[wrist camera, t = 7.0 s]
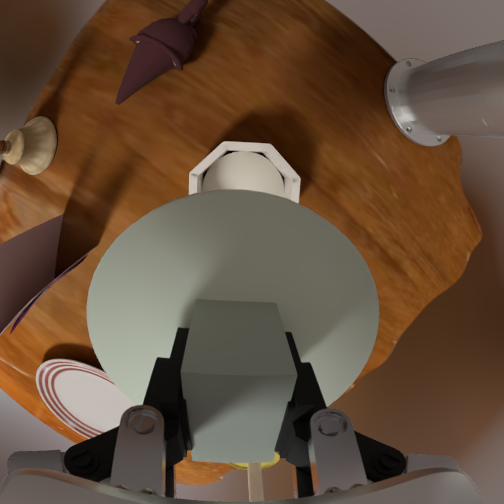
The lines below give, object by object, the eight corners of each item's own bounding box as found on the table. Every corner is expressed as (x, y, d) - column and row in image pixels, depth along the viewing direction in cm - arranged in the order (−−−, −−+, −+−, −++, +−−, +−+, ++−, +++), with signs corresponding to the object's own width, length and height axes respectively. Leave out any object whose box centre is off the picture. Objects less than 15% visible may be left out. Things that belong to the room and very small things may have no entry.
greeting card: (57, 288, 34) (1, 344, 20) (30, 249, 32) (-34, 292, 18) (101, 250, 33) (38, 306, 19) (72, 204, 31) (-4, 238, 17)
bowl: (292, 148, 30) (303, 146, 26) (285, 238, 34) (293, 252, 29) (197, 143, 30) (190, 141, 25) (195, 234, 33) (188, 248, 28)
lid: (396, 206, 11) (479, 240, 6) (333, 417, 15) (355, 480, 10) (82, 186, 10) (-2, 211, 5) (122, 411, 14) (102, 476, 9)
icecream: (141, 118, 23) (236, 10, 20) (83, 83, 19) (181, -22, 17) (145, 122, 29) (221, 31, 26) (98, 93, 25) (176, 3, 23)
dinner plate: (110, 336, 38) (102, 349, 35) (188, 435, 47) (187, 448, 44) (22, 358, 40) (14, 367, 36) (95, 439, 49) (91, 449, 45)
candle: (281, 425, 46) (302, 547, 21) (231, 433, 47) (235, 554, 21) (271, 395, 43) (294, 541, 18) (215, 405, 43) (211, 547, 18)
